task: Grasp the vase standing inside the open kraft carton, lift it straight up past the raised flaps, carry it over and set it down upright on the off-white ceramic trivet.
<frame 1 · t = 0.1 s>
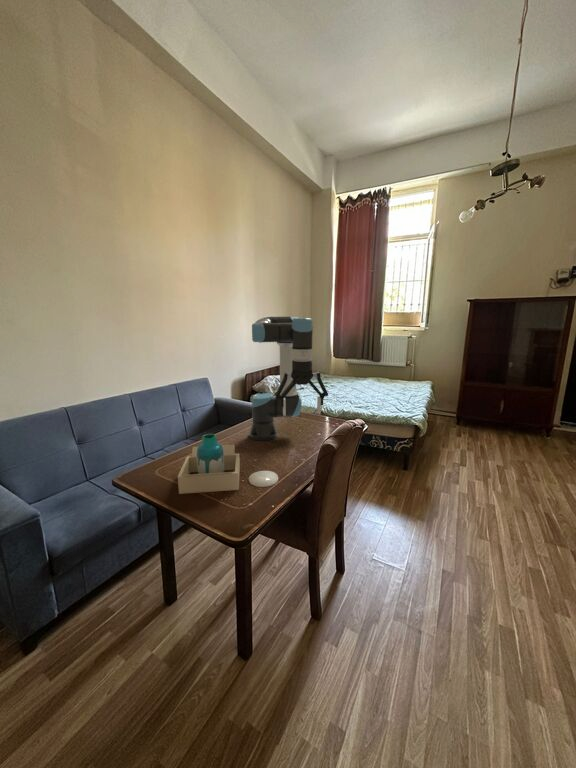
hand: (301, 414, 121), 28 cm above the table, fingers open, 13 cm apart
carton: (211, 479, 127), on the table
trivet: (263, 479, 128), on the table
vase: (211, 480, 127), resting in carton
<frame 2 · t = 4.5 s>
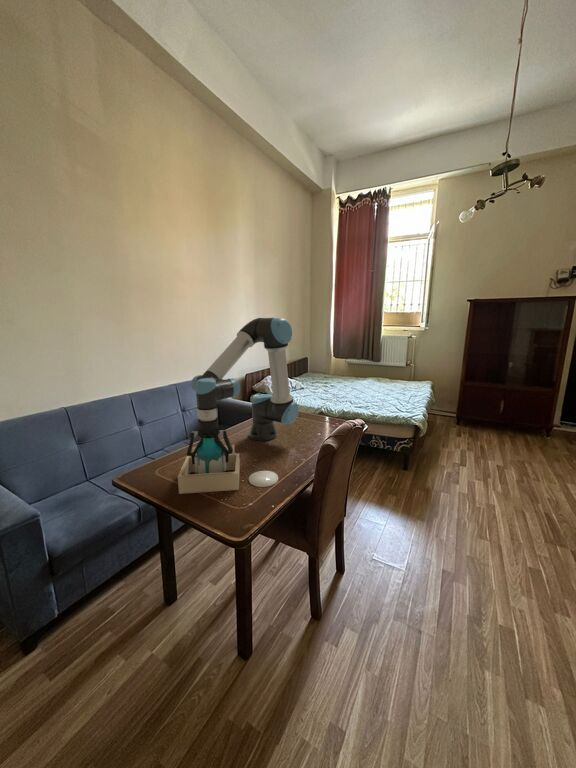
hand: (211, 470, 126), 4 cm above the table, fingers closed on vase, 10 cm apart
vase: (211, 480, 127), resting in carton, touching gripper
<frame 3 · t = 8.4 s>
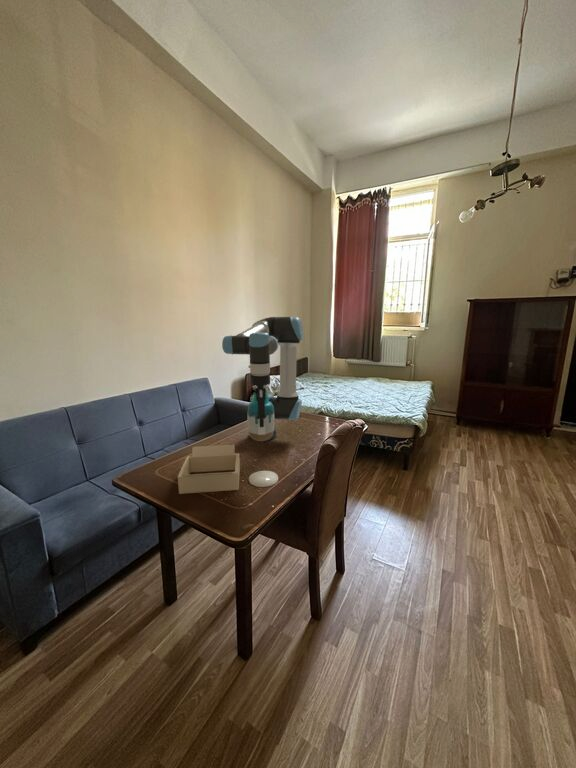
hand: (261, 429, 123), 22 cm above the table, fingers closed on vase, 10 cm apart
vase: (261, 439, 124), point 17 cm above the table, touching gripper
when the fingers open (6 cm above the table, at t = 12.4 s): vase stays where it is, resting on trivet.
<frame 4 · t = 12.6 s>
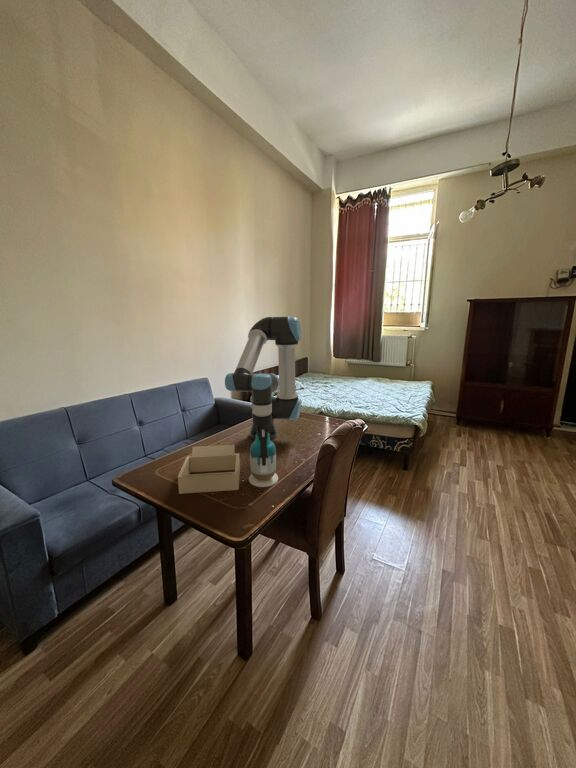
hand: (263, 464, 126), 7 cm above the table, fingers open, 12 cm apart
vase: (263, 478, 128), resting on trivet
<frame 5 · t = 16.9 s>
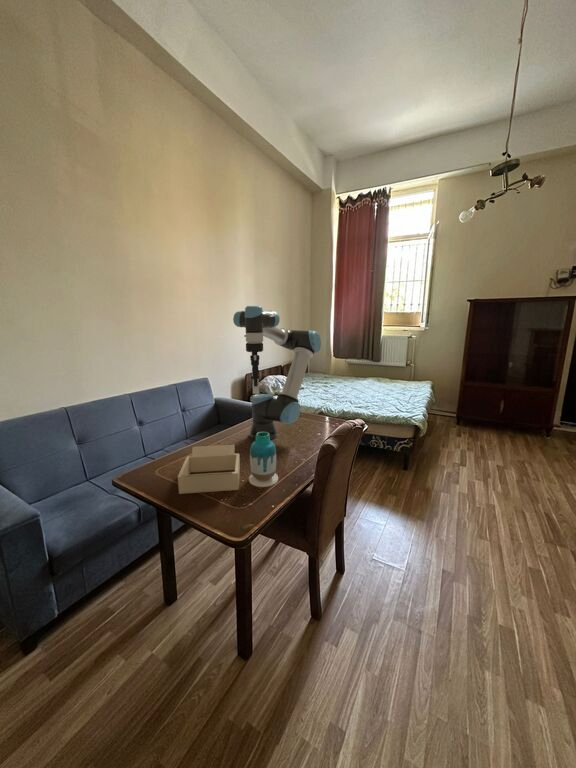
hand: (255, 389, 141), 33 cm above the table, fingers open, 13 cm apart
nothing on the table moved.
at the end: vase inside the target area on the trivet (0.1 cm from its centre), point 0.4 cm above the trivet's base; vase tilted 0°; the gripper is holding nothing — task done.
